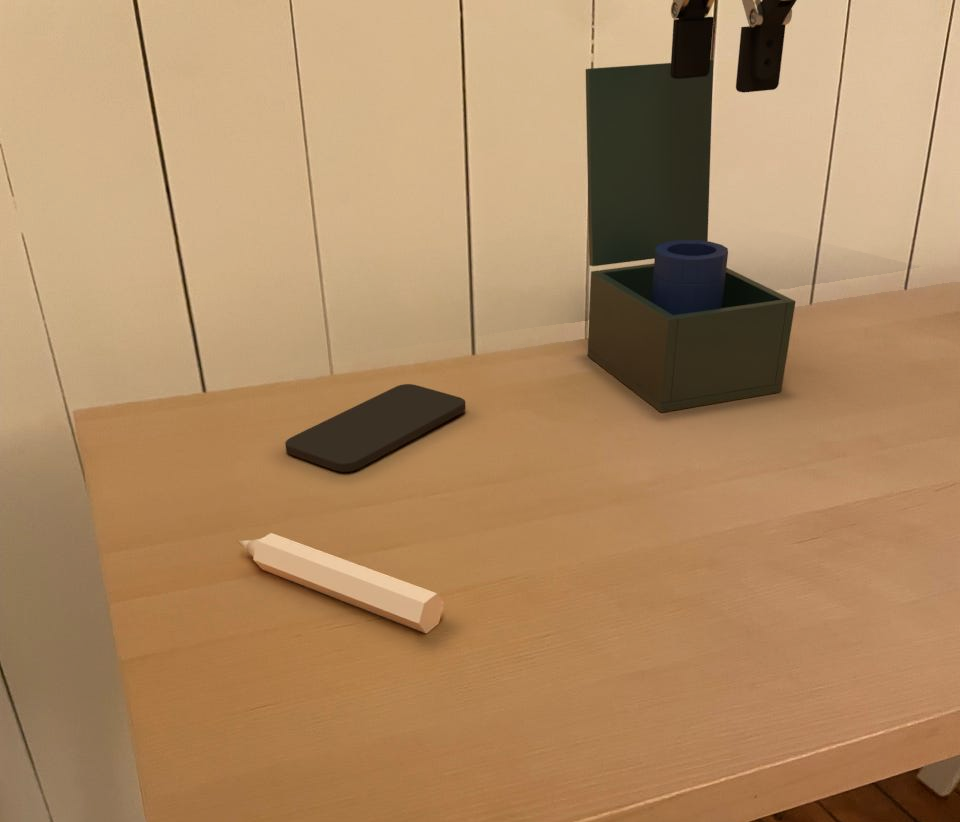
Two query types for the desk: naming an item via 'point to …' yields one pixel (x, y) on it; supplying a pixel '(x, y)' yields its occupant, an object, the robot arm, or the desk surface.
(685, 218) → the lid
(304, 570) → the wooden pencil
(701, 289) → the jar
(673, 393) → the chest
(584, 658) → the desk surface
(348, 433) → the phone
